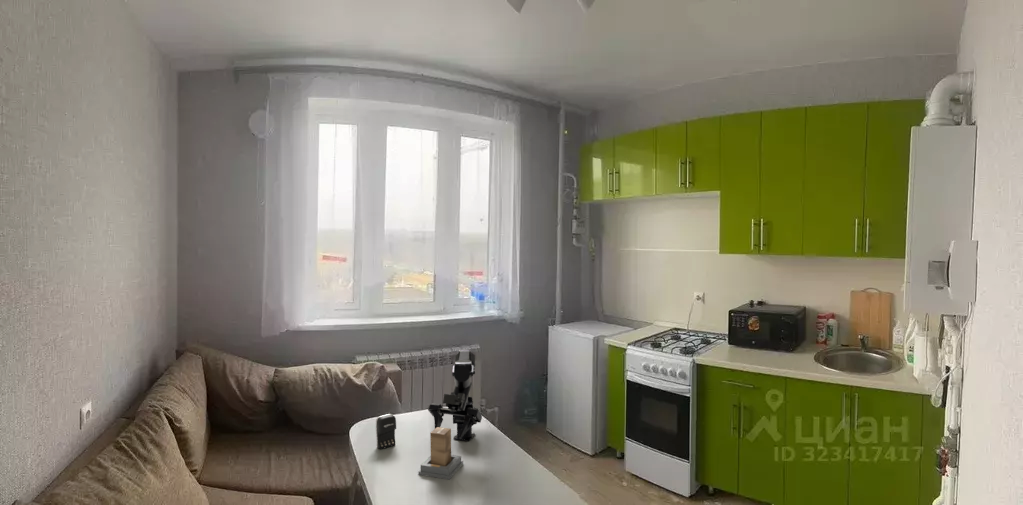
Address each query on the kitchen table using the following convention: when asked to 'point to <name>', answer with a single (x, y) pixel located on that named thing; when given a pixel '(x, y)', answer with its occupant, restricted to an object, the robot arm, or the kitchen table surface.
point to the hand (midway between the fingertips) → (447, 436)
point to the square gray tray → (441, 468)
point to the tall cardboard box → (441, 446)
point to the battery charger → (385, 431)
